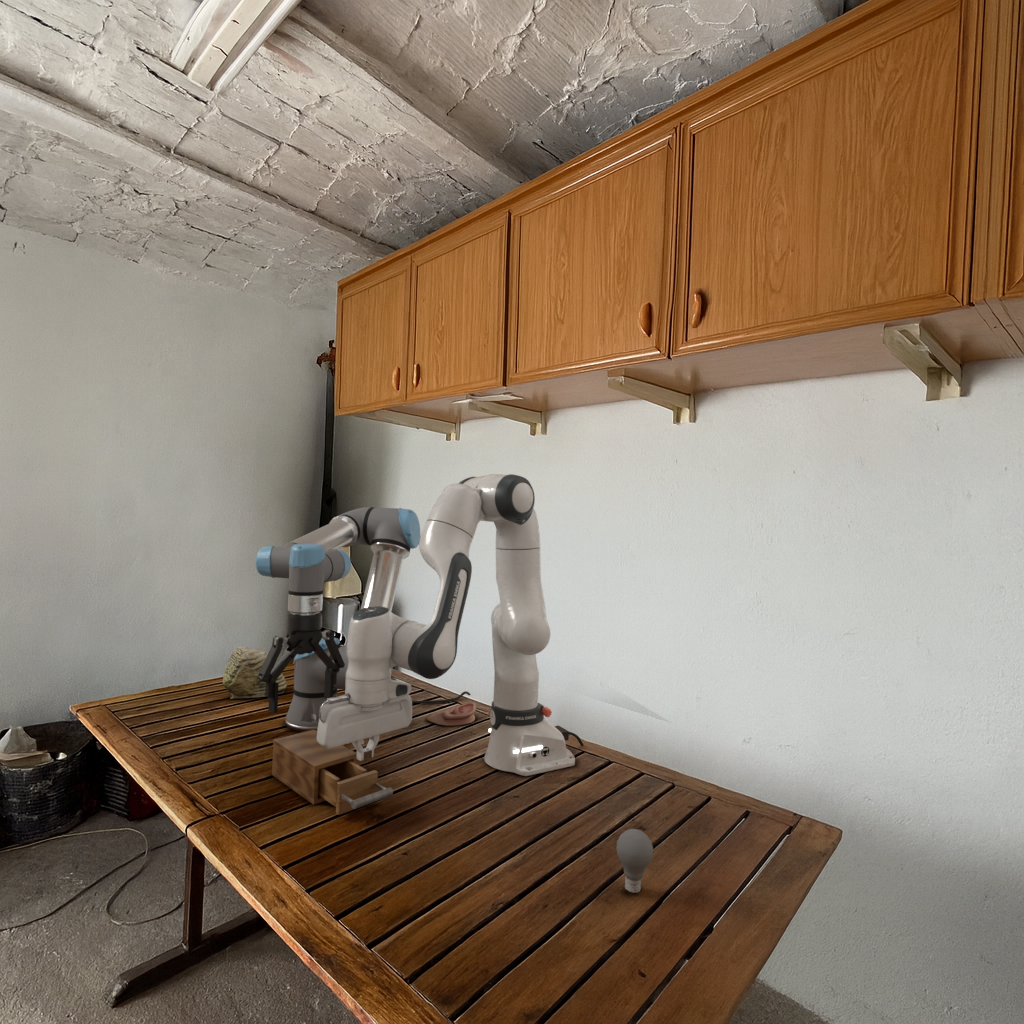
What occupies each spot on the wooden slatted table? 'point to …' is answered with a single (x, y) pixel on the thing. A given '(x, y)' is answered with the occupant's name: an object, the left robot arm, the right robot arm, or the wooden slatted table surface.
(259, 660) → the fossil
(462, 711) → the anatomical model
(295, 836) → the wooden slatted table surface
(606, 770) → the wooden slatted table surface
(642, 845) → the light bulb
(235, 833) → the wooden slatted table surface
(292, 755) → the cabinet
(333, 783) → the drawer
